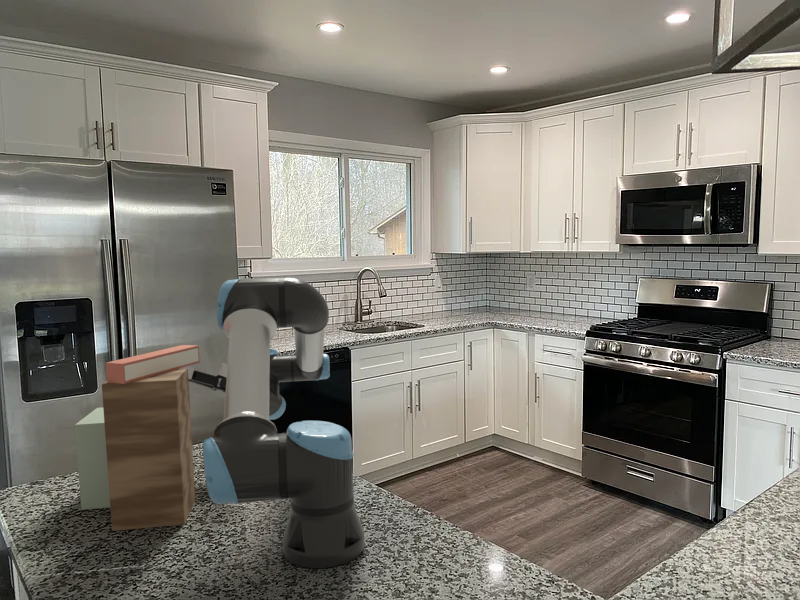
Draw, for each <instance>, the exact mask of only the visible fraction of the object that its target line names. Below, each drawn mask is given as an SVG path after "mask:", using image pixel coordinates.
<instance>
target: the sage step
mask: <svg viewBox="0 0 800 600" xmlns="http://www.w3.org/2000/svg"><path fill="white" fill-rule="evenodd" d="M74 430H75V431H74V432H75V444H76V455H77V456H76V458H77V472H78V483H79V484H78V485H79V499H80V510H82V511H83V510H93V509H94V510H95V509H105V508H106V509H107V508H110V495H109V480H108V466H107V452H106V438H105V424H104V410H103V407H96V408H95V409H94V410H93V411H91V412H89V413H88V414H86V416H85V417H83V418H82V419H80V420H79V421H78V422H76V423H75V424H74Z"/></svg>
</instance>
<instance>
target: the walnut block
mask: <svg viewBox="0 0 800 600" xmlns="http://www.w3.org/2000/svg"><path fill="white" fill-rule="evenodd" d="M189 383H190V382H189V380H188V368H185V369H176V370H172V371H168V372H165V373H161V374H158V375H154V376H151V377H147V378H143V379H140V380H136V381H133V382H129V383H126V384H119V383H107V380H106V381H104V382H103V383H102V384H101V392H102V395H101V396H102V406H103V410H104V424H105V438H106V452H107V466H108V480H109V495H110V507H109V508H110V520H111V522H110V523H111V532H112V531H125V530H136V529H149V528H157V527H168V526H179V525H186V522H187V520H188V517H189V515H190V514H191V511H192V508H193V507H194V505H195V502H196V490H195V471H194V470H195V469H194V454H193V452H194V451H193V450H194V449H193V439H192V438H193V437H192V436H193V434H192V417H191V401H190V385H189Z"/></svg>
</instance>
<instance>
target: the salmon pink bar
mask: <svg viewBox="0 0 800 600" xmlns="http://www.w3.org/2000/svg"><path fill="white" fill-rule="evenodd" d="M199 347H200V345H196V344H191V345H190V344H182V345H181V344H180V345H177V346H172V347H168V348H164V349H160V350H155V351H151V352H147V353H143V354H138V355H133V356H129V357H126V358H121V359H115V360H111V361H108V362H105V372H106V381H107V383H119V384H126V383H129V382H133V381H136V380H140V379H143V378H147V377H151V376H154V375H158V374H161V373H165V372H168V371H172V370H176V369H179V368H183V367H186V366H190V367H191V366H193V365H196V364H199V363H201V361H200V360H201V359H200V348H199Z"/></svg>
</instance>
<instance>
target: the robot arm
mask: <svg viewBox="0 0 800 600" xmlns="http://www.w3.org/2000/svg"><path fill="white" fill-rule="evenodd" d="M329 316H330V310H329V307H328V302H327V301H326V299H325V298H324V296H323V294H321V292H320V291H319V290H318V289H317V288H316V287H314V285H312V284H310V283H309V282H307V281H305V280H302V279H299V278H295V277H268V278H266V277H264V278H261V277H260V278H255V277H254V278H242V277H241V278H237V279H227V280H226V281H224V282H223V283H222V285H221V287H220V288H219V291H218V296H217V306H216V321H217V325H218V327H219V329H220V330H221V331H223V333H224V335H225V336H226V337H227V338H228V339H229V340H228V341H229V342H228V355H227V363H226V362H221V363H220V366H219V371H218V375H212V374H209V373H205V372H202V371H199V370H195V368H193V367H192V366H191V365H190V366H186V367H183V368H179V369H185V368H188V380H189V383H192V384H196V385H199V386H202V387H205V388H208V389H210V390H213V391H221V392H222V393H225V394H224V407H223V409H224V410H223V420H221V421H220V422H219V423H218V424H217V425H216V426H215V428H214V431H213V437H209V438H206V439H204V441H203V444H202V456H203V457H202V459H203V468H204V477H205V482H206V483H205V484H206V489H207V494H208V497H209V499H210V500H211V501H212V503H214V504H217V505H224V504H225V505H226V504H227V505H229V504H230V505H231V504H234V505H238V504H245V503H255V502H266V501H276V500H286V499H290V513H289V516H288V521H287V524H286V527H285V531H284V535H283V538H282V552H283V556H284V558H285V559H286V560H287V561H288V562H289V563H291V564H293V565H295V566H299V567H303V568H307V569H308V568H309V569H326V568H333V567H338V566H341V565H343V564H346V563H349V562H350V561H353V560H354V559H357V558H358V556H360V555H361V553H362V552H364V549H365V541H366V540H365V531H364V528H363V525H362V522H361V519H360V517H359V514H358V512H357V509H356V506H355V497H354V472H353V470H354V468H353V458H354V451H353V446H352V445H353V443H352V442H353V441H352V436H351V433H350V432H349V430H348V429H347V428H345V427H344V426H342V425H340V424H336V423H334V422H330V421H323V420H301V421H296V422H292V423H291V424H289V426H288V427H287V429H286V432H281V433H280V432H279V433H278V429H277V427H276V425H275V423H274V422H273V421H271V420H277V419H279V418H280V417H281V416H282V415H283V414H284V413H285V411H286V408H287V407H286V406H287V403H286V400H285V398H284V397H283V396H282V395H281V394H280V383H287V382H289V383H290V382H302V381H303V382H305V381H307V382H308V381H320V380H327V379H329V378H330V377H331V373H330V372H331V371H330V368H331V366H330V365H331V364H330V356H329V355H328V354H327V353H324V345H325V328H326V326H328V322H329V318H330V317H329ZM281 328H282V329H284V328H285V329H286V328H293V330H294V345H295V348H294V349H295V355H293V354H292V355H291V354H289V355H279V352H278V350H277V349H274V348H271V340H272V339H273V338H274V337H275V335H276V333H277V329H281Z"/></svg>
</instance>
